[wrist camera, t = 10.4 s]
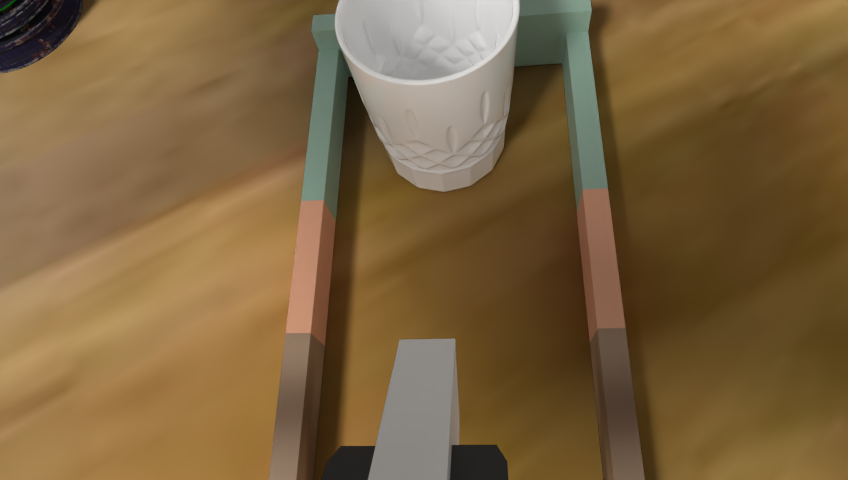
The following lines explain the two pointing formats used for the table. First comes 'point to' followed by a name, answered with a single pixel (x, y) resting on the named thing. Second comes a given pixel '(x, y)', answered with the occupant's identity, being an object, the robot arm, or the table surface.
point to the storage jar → (34, 29)
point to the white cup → (434, 82)
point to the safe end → (536, 45)
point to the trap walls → (318, 254)
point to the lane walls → (304, 392)
